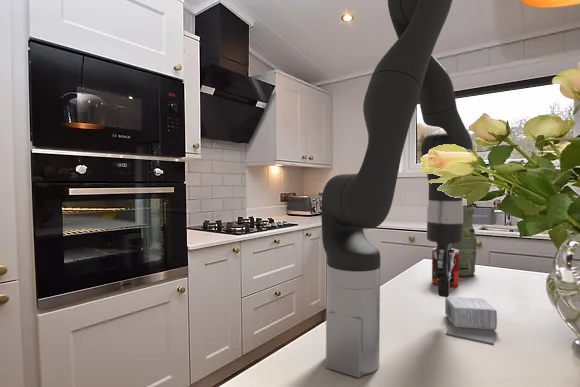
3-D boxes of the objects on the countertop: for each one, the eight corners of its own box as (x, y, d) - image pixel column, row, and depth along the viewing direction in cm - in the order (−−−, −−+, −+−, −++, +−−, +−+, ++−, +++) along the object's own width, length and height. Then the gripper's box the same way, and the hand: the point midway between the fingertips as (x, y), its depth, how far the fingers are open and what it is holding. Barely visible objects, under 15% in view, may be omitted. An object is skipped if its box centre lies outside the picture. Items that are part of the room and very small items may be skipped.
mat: (493, 344, 68) (493, 343, 68) (446, 334, 72) (446, 333, 72) (495, 320, 80) (495, 319, 80) (454, 313, 84) (454, 312, 84)
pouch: (439, 274, 120) (440, 203, 120) (443, 267, 130) (444, 201, 130) (475, 279, 115) (476, 204, 114) (476, 271, 125) (477, 202, 124)
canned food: (427, 283, 109) (428, 249, 109) (438, 279, 115) (439, 246, 114) (452, 289, 104) (452, 253, 103) (462, 284, 109) (463, 249, 109)
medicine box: (453, 327, 75) (497, 331, 73) (454, 307, 75) (497, 310, 73) (444, 314, 83) (484, 317, 81) (445, 295, 83) (484, 298, 81)
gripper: (460, 224, 71) (458, 307, 71) (465, 218, 82) (464, 291, 82) (421, 222, 75) (420, 301, 75) (432, 217, 86) (431, 286, 86)
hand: (443, 295), depth 79 cm, fingers closed
